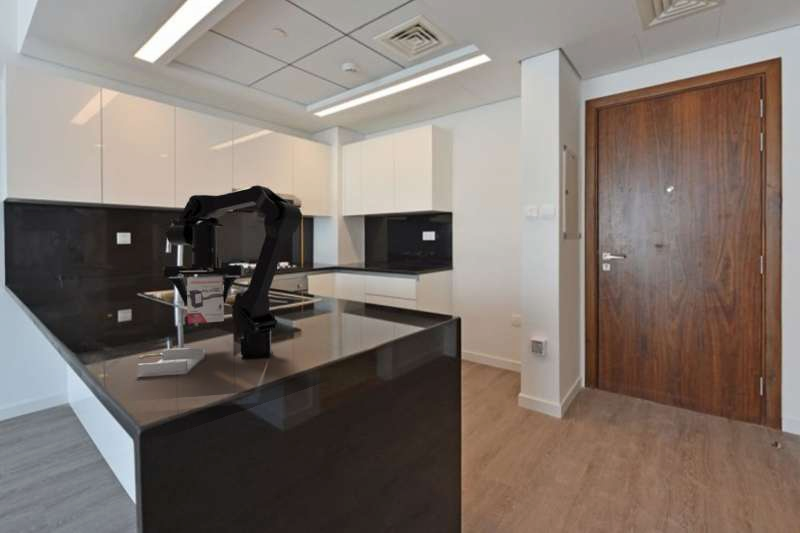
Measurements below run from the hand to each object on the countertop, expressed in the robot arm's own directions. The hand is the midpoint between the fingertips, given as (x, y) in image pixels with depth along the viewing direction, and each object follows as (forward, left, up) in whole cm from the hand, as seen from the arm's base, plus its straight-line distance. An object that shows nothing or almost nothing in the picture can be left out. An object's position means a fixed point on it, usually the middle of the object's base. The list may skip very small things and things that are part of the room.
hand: (205, 303), depth 103 cm
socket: (+3, +15, -12) cm, 20 cm away
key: (+12, +4, -12) cm, 18 cm away
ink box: (0, 0, -5) cm, 5 cm away
